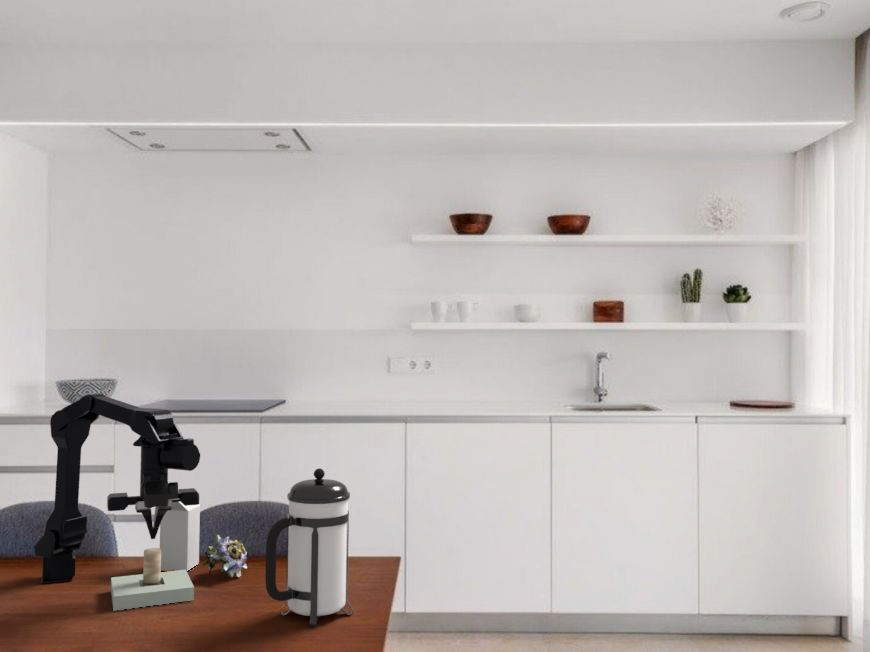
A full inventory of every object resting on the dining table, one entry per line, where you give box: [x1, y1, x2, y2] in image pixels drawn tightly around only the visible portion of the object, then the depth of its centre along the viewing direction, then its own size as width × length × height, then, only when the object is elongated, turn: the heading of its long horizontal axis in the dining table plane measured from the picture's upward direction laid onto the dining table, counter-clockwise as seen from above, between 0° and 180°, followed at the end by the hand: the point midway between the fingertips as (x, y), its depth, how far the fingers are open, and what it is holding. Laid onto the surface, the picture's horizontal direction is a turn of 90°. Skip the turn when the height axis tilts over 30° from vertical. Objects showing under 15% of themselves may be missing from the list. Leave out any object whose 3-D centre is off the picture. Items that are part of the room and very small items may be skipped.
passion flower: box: [202, 534, 248, 579], centre depth 184 cm, size 11×11×12 cm
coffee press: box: [265, 468, 354, 628], centre depth 157 cm, size 17×16×30 cm
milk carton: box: [159, 502, 201, 571], centre depth 189 cm, size 7×7×19 cm
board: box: [110, 570, 195, 612], centre depth 168 cm, size 16×14×3 cm
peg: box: [142, 547, 161, 587], centre depth 168 cm, size 4×4×10 cm
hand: (152, 538), depth 169 cm, fingers closed
